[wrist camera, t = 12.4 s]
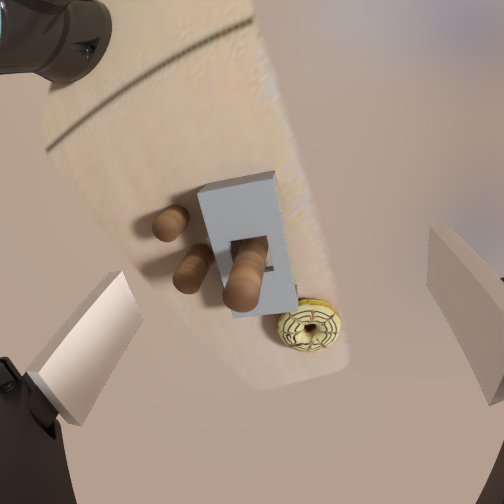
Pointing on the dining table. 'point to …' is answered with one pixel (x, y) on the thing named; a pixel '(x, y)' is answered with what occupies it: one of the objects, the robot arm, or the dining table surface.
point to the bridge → (251, 235)
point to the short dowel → (170, 223)
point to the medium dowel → (193, 269)
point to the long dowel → (246, 275)
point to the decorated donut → (315, 337)
